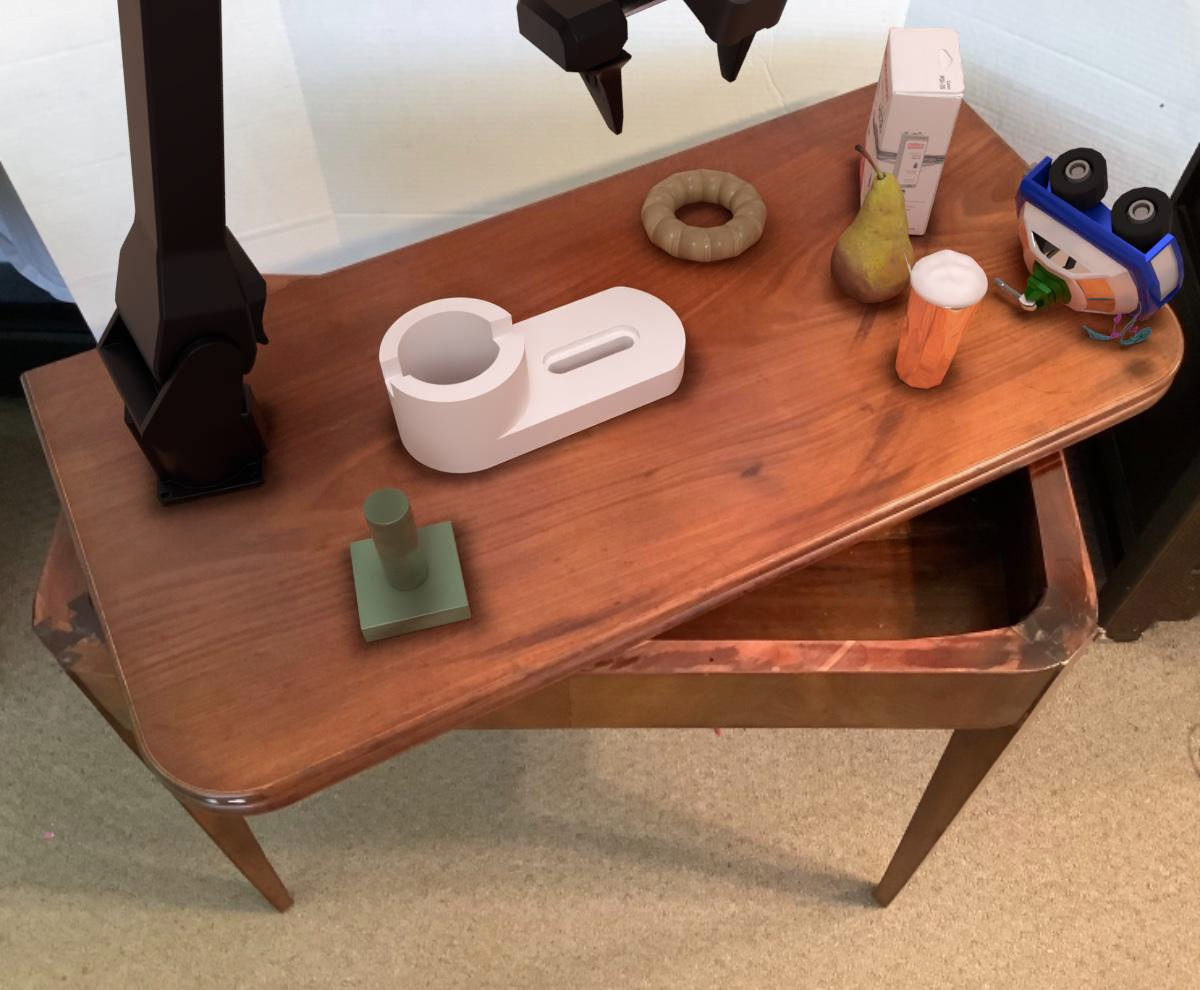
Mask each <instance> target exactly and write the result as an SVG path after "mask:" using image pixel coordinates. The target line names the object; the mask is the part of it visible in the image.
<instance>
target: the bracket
mask: <svg viewBox="0 0 1200 990" xmlns="http://www.w3.org/2000/svg"><path fill="white" fill-rule="evenodd" d="M685 357H686V333H685V329H684V325H683V323H682V321H681V319H680V317H679V316H678V314H677V313H676V312H675V311H674V310H673V309H672V308H671V307H670V305H668V304H667V303H665V301H663V300H662V299H660V298H658V297H656V296H655V295H652V294H651V293H649V292H645V291H644V290H639V289H637V288H634V287H633V288H632V287H628V286H614V287H611V288H608V289H605V290H602V291H600V292H597V293H594V294H591V295H588V296H586V297H584V298H583V297H582V298H581V299H577V300H575V301H573V302H570V303H568V304H564V305H562V306H559V307H556V308H553V309H551V310H549V311H546V312H542V313H540V314H537V315H535V316H532V317H529V318H526V319H524V320H521V321H518V322H515V323H513V319H512V314H510V313H509V312H508V311H507V310H505V309H504V308H502V307H501V306H498V305H497V304H495V303H492V302H489V301H487V300H483V299H479V298H472V297H448V298H442V299H440V298H439V299H437V300H433V301H429V302H426V303H423V304H421V305H418V306H417V307H413V308H412V309H410V310H409V311H407V312H406V313H404V314H403V315H401V316H400V317H399V318H398V319H396V320H395V321H394V322H393V323H392V324H391V325H390V327H389V328H388V329H387V331H386V332H385V334H384V336H383V338H382V340H381V342H380V347H379V354H378V358H379V359H378V360H379V365H380V368H381V371H382V375H383V379H384V383H385V386H386V390H387V393H388V397H389V401H390V405H391V408H392V412H393V416H394V419H395V422H396V426H397V430H398V433H399V437H400V440H401V442H402V445H403V447H404V448H405V450H406V451H407V452H408V453H409V455H410V456H411V457H413V458H414V459H415V460H416V461H417V462H419V463H420V464H422V465H424V466H425V467H428V468H430V469H432V470H436V471H439V472H444V473H451V474H468V473H476V472H480V471H484V470H488V469H490V468H492V467H495V466H497V465H500V464H502V463H505V462H507V461H510V460H512V459H515V458H517V457H520V456H522V455H524V454H527V453H529V452H532V451H535V450H537V449H539V448H542V447H544V446H547V445H549V444H552V443H554V442H556V441H560V440H561V439H564V438H567V437H569V436H571V435H573V434H577V433H579V432H581V431H583V430H584V431H585V430H586V429H589V428H591V427H593V426H596V425H599V424H602V423H603V422H606V421H608V420H611V419H614V418H615V417H619V416H620V415H623V414H626V413H628V412H630V411H633V410H636V409H638V408H640V407H643V406H645V405H646V406H647V405H648V404H650V403H654V402H656V401H658V400H660V399H662V398H666V397H668V396H670V395H673V394H674V393H675V392H676V391H677V389H678V388H679V386H680V384H681V382H682V379H683V376H684V371H685Z"/></svg>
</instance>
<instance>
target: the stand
mask: <svg viewBox="0 0 1200 990" xmlns="http://www.w3.org/2000/svg"><path fill="white" fill-rule="evenodd" d="M408 497H409V496H408V495H407V494H406V493H405V492H403V491H402V490H400V489H398V488H395V487H383V488H381V489H377V490H375V491H373V492H372V493H370V495H368V496H367V498H366V499H365V501H364V502H363V506H362V513H363V516H364V519H365V522H366V526H367V528H368V530H369V533H370V538H364V539H360V540H356V541H350V542H349V550H350V559H351V566H352V573H353V580H354V588H355V595H356V603H357V610H358V619H359V624H360V631H361V633H362V635H363V639H364V640H365V642H366V643H371V642H375V641H378V640H379V641H380V640H383V639H387V638H392V637H396V636H401V635H405V634H411V633H413V632H417V631H422V630H426V629H430V628H431V629H432V628H435V627H439V626H443V625H449V624H453V623H456V622H457V623H458V622H462V621H465V620H470V619H472V612H471V608H470V604H469V599H468V594H467V590H466V584H465V580H464V576H463V575H464V574H463V571H462V570H463V569H462V566H461V561H460V556H459V551H458V546H457V542H456V537H455V531H454V528H453V524H452V521H451V520H447V521H442V522H437V523H434V524H428V525H425V526H419V527H417V524H416V520H415V517H414V514H413V510H412V507H411V503H410V500H409V498H408Z"/></svg>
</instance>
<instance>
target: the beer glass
mask: <svg viewBox="0 0 1200 990" xmlns="http://www.w3.org/2000/svg"><path fill="white" fill-rule="evenodd" d="M904 254H905V258H906V261H907V265H908V269H909V272H910V283H909V285H908V291H907V298H906V305H905V311H904V317H903V322H902V327H901V333H900V338H899V344H898V349H897V354H896V360H895V366H894V369H895V371H896V373H897V376H898V378H899V379H898V380H900V381H902V382H904V383H905V384H906V385H908V386H909V387H910V388H918V389H926V390H929V389H931V388H933V387H936V386H939V385H941V383H942V381H943V380H944V378H945V376H946V374H947V372H948V369H949V368H950V365H951V363H952V361H953V359H954V357H955V355H956V353H957V350H958V349H959V346H960V344H961V341H962V339H963V337H964V335H965V333H966V331H967V329H968V327H969V326H970V324H971V323H972V321H973V319H974V317H975V315H976V313H977V311H978V309H979V307H980V305H981V303H982V301H983V299H984V297H985V295H986V293H987V290H988V285H989V284H988V278H987V275H986V272H985V270H984V269H983V268H982V267H981V266H980V265H979V264H978V262H976V260H975V259H973V257H971V256H969V255H967V254H964V253H960V252H957V251H955V250H952V249H941V250H939V251H936V252H933V253H931V254H929V255H926V256H923V257H921V258H920V259H918V260H917V261H916V262H915V265H914V267H913V269H912V271H911V268H910V264H909V260H908V257H907V253H906V250H905V247H904Z"/></svg>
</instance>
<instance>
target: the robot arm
mask: <svg viewBox="0 0 1200 990" xmlns="http://www.w3.org/2000/svg"><path fill="white" fill-rule="evenodd" d="M664 2H667V0H517V3H516V7H515V8H516V9H515V10H516V15H517V16H516V17H517V24H518V32H519V34H520V35H521V36H522V37H523V38H524V39H526V40H527V41H528V42H529V43H530V44H531V45H533V46H534V47H535V48H537V49H538V50H539V51H540V52H542V53H543V54H544V55H545V56H546V57H548V58H549V59H550V60H551V61H553V62H554V63H555V64H556V65H557V66H558V67H560V69H562V70H563V71H564V72H566V73H574V74H575V73H577V74H579V76H580V78H581V80H582V81H583V83H584V85H585V87H586V89H587V91H588V93H589V94H590V96H591V98H592V100H593V102H594V105H595V106H596V108H597V110H598V112H599V113H600V115H601V117H602V119H603V121H604V122H605V124H606V127H607V128H608V129H609V131H611V133H613V134H614V135H615V136H619V135H621V134H622V133H623V130H624V129H623V127H624V116H625V115H624V113H625V112H624V97H623V79H622V78H623V77H622V69H623V68H624V66H626V64H627V63H629V61H631V60H632V58H633V56H632V54H630V53H629V52H628V51H627V50H626V49H625V48H624V46H625V45H626V43H627V42H628V40H629V24H628V19H627V18H630V17H631V16H633V15H636V14H638V13H640V12H643V11H645V10H648V9H650V8H653V7H655V6H657V5H659V4H662V3H664ZM682 2H683V3H685V5H686V6H687V8H688V9H689V10H690V11H691V13H692V14H693V15H694V16H695V18H696V19H697V21H698V22H699V23H700V24H701V26H702V27H703V28H704V29H703V30H704V34H705V35H706V36H707V37H708V38H709V39H710V40H711V41H712V42H713V43H714V44H716V53H717V60H718V65H719V71H720V75H721V77H722V79H724V80H725V81H726V82H728V83H730V84H731V83H734V82H735V81H736V80H737V78H738V76H739V73H740V71H741V69H742V67H743V64H744V62H745V59H746V57H747V56H748V52H749V51H750V48H751V46H752V43H753V41H754V39H755V36H756V34H757V32H760V31H762V30H764V29H766V30H770V29H771V28H773V27H775V26H777V25H778V24H779V22H780V20H781V17H782V16H783V13H784V10H785V8H786V5H787V3H788V0H682ZM116 3H117V14H118V27H119V37H120V51H121V60H122V72H123V84H124V97H125V109H126V121H127V128H128V129H127V132H128V143H129V145H128V146H129V155H130V166H131V178H132V179H131V180H132V191H133V202H134V218H133V223H132V224H131V227H130V229H129V231H128V233H127V235H126V236H125V238H124V241H123V243H122V244H121V247H120V249H119V255H118V264H117V272H116V281H115V290H114V302H115V305H116V307H115V310H114V311H113V313H112V315H111V317H110V319H109V320H108V322H107V325H106V326H105V329H103V332H102V334H101V335H100V338H99V340H98V342H96V343H97V344H96V346H95V350H96V352H97V353H98V355H99V357H100V359H101V361H102V362H103V365H104V367H105V370H106V371H107V373H108V375H109V376H110V379H111V380H112V382H113V384H114V386H115V389H116V390H117V392H118V393H119V396H120V398H121V400H122V401H123V403H124V407H123V409H124V410H123V422H124V423H125V425H126V427H127V428H128V431H129V432H130V434H131V435H132V437H133V439H134V441H135V442H136V444H137V445H138V447H139V449H140V450H141V452H142V454H143V455H144V457H145V459H146V460H147V462H148V464H149V465H150V467H151V469H152V471H153V472H154V474H155V475H156V498H157V501H158V502H159V504H161V505H162V506H170V505H175V504H181V503H185V502H188V501H193V500H198V499H202V498H203V499H204V498H208V497H212V496H218V495H223V494H227V493H232V492H236V491H242V490H246V489H251V488H256V487H259V486H261V485H264V483H265V482H266V469H265V456H267V455H268V453H269V439H268V427H267V426H268V425H267V423H266V419H265V417H264V415H263V413H262V410H261V408H260V406H259V404H258V401H257V399H256V396H255V393H254V392H253V390H252V387H251V385H250V384H249V383H248V382H246V381H244V376H246V375H248V374H250V373H251V372H252V370H253V368H254V366H255V364H256V360H257V354H258V344H260V345H263V346H267V345H268V344H269V343H270V340H269V337H268V336H267V334H266V332H265V329H264V322H263V321H264V313H265V308H266V303H267V295H268V293H267V281H266V279H265V278H264V277H263V275H262V274H261V272H260V271H259V269H258V268H257V266H256V265H255V264H254V262H253V261H252V259H251V258H250V256H249V255H248V253H247V252H246V251H245V249H244V248H243V247H242V244H241V243H240V242H239V241H238V239H237V238H236V236H235V235H234V233H233V232H232V230H231V229H230V227H229V226H227V213H226V211H227V208H226V165H225V164H226V161H225V158H226V156H225V111H224V109H225V108H224V106H225V105H224V61H223V60H224V59H223V57H224V56H223V52H224V51H223V11H222V10H223V9H222V8H223V6H222V0H116ZM255 478H256V479H255Z"/></svg>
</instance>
